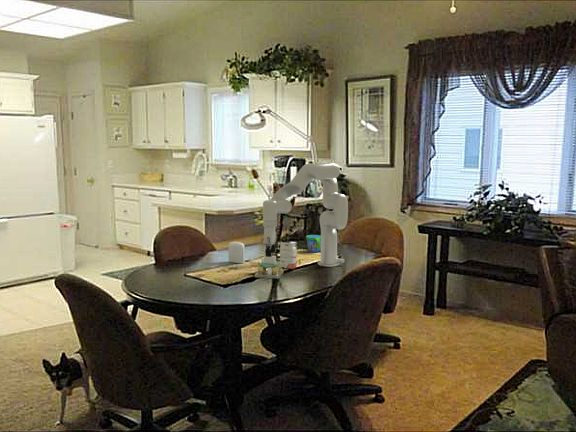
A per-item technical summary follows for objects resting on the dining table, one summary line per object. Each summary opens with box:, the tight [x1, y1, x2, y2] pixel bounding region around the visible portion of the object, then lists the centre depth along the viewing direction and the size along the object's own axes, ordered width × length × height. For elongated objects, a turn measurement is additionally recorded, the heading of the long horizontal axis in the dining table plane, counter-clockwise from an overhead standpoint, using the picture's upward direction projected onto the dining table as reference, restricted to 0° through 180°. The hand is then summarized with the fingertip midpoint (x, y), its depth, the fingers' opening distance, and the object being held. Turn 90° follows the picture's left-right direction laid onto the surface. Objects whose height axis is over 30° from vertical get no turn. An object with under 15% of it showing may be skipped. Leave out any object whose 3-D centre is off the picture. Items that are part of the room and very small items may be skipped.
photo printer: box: [227, 241, 246, 264], centre depth 331 cm, size 10×4×12 cm, turn 61°
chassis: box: [254, 259, 285, 279], centre depth 303 cm, size 14×13×7 cm
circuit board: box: [258, 255, 280, 268], centre depth 303 cm, size 12×10×5 cm
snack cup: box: [305, 234, 321, 253], centre depth 366 cm, size 16×10×10 cm
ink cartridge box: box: [279, 241, 297, 270], centre depth 320 cm, size 9×5×15 cm, turn 62°
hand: (270, 254), depth 302 cm, fingers open, 9 cm apart
